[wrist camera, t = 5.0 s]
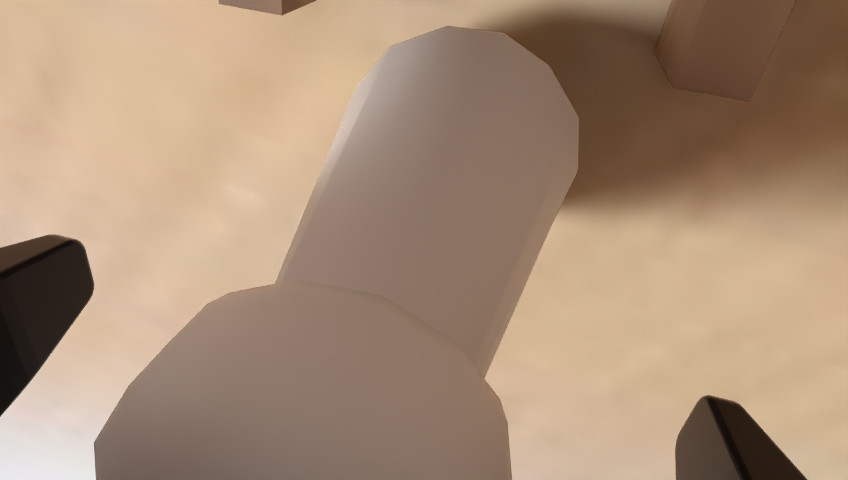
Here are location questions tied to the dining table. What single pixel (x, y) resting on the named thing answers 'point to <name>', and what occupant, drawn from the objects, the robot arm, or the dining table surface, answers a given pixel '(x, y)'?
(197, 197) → the dining table surface
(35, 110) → the dining table surface
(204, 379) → the salt shaker
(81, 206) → the dining table surface
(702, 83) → the rest
